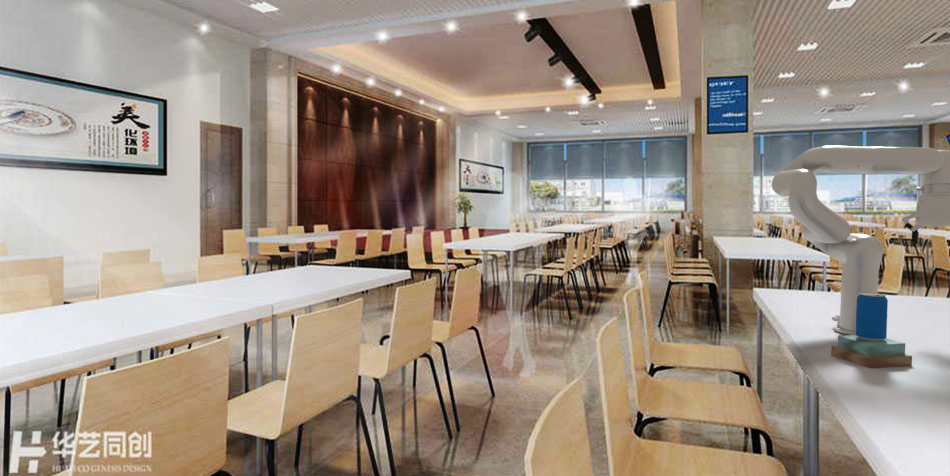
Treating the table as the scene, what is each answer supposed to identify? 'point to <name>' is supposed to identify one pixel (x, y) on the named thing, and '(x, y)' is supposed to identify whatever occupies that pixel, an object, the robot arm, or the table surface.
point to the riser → (871, 352)
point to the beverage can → (871, 316)
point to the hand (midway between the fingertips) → (935, 244)
